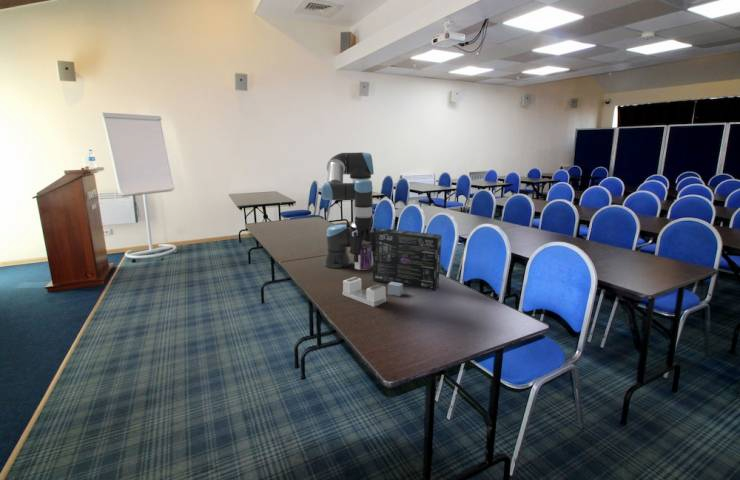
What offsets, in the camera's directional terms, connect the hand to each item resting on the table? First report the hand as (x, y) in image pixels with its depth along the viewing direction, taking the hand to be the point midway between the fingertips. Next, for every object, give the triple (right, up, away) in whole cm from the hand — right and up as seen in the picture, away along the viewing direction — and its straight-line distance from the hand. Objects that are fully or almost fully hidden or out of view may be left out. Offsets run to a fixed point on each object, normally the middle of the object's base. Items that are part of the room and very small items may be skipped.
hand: (363, 266), depth 164 cm
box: (+21, -10, +22) cm, 32 cm away
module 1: (-5, -11, +8) cm, 15 cm away
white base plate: (0, -15, +3) cm, 15 cm away
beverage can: (0, -1, 0) cm, 1 cm away
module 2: (+5, -14, -2) cm, 15 cm away
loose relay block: (+15, -13, +9) cm, 22 cm away
